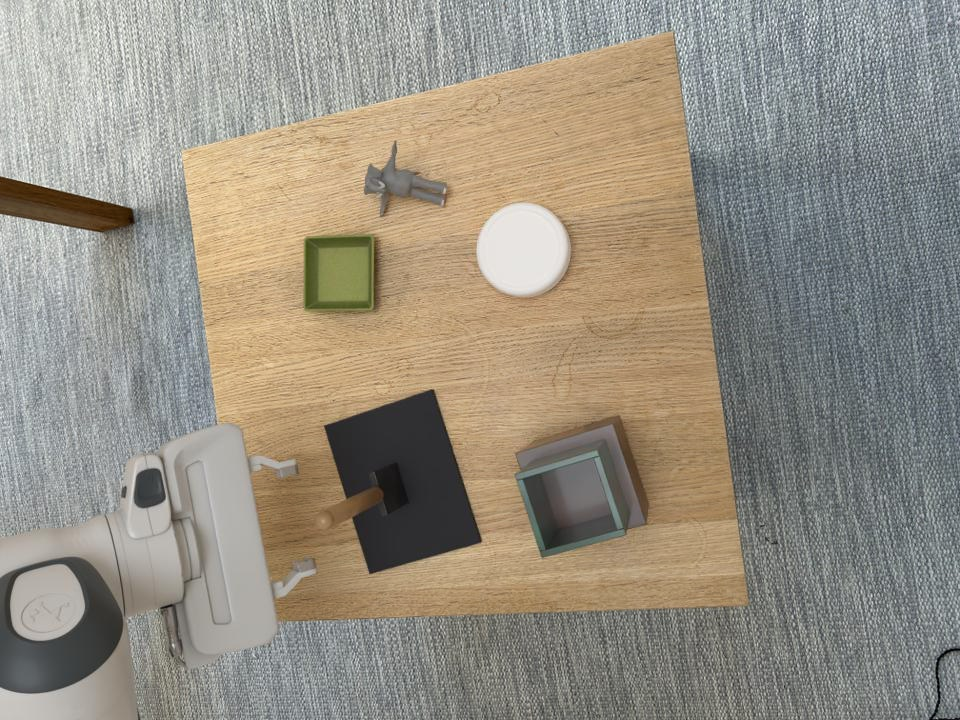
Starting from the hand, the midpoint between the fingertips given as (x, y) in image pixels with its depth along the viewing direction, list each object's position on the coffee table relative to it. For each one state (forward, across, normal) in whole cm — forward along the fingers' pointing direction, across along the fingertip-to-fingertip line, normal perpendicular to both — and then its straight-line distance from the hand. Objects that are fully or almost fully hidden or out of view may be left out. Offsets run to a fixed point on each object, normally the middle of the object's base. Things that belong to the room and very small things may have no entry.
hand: (305, 515), depth 73 cm
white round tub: (+28, +22, -4) cm, 36 cm away
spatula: (+14, 0, +9) cm, 17 cm away
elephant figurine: (+20, +33, +4) cm, 39 cm away
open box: (+30, -3, -6) cm, 30 cm away
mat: (+15, 0, +9) cm, 17 cm away
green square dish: (+13, +25, +11) cm, 30 cm away
